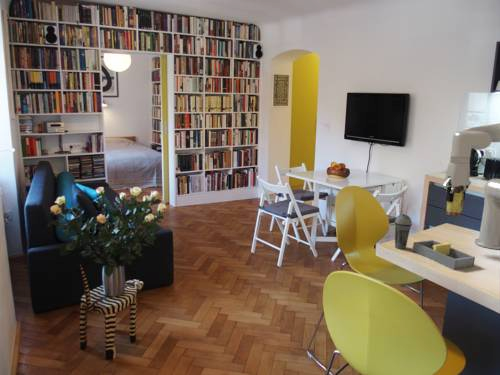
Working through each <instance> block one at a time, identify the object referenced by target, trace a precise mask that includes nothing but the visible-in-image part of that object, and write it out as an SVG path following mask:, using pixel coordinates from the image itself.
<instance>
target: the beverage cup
mask: <svg viewBox="0 0 500 375" xmlns="http://www.w3.org/2000/svg"><path fill="white" fill-rule="evenodd" d="M408 209H409V205H408V204H407V206H406V210H405V213H404V214H399V215H398V216H397V217H396V218H395V219H394V247H395V249H397V250H406V247H407V246H408V245H407V244H408V240H409V235H410V230H411V228H412V225H413V224H412V219H411V217H410V216H409V215H407V213H408Z"/></svg>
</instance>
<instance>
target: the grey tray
mask: <svg viewBox="0 0 500 375" xmlns="http://www.w3.org/2000/svg"><path fill="white" fill-rule="evenodd" d="M438 244H442V243H441V242H438V241H436V240H434V239H430V240H429V239H428V240H422V241H414V242H413V246H412V252H414V253H416V254H418V255H421V256H422V257H425V258H427V259H429V260H431V261H434V262H436V263H437V264H440V265H443V266H445V267H447V268H449V269H451V270H453V271H455V270H462V269H466V268H467V269H468V268H472V267H473V268H474V264H475V260H476V257H475V256H473V255H471V254H468V253H465V252H463V251H461V250H458V249H456V248H453V247H450V254H449V255H444V254H442V253H440V252H437V251H435V250H433V248H432V246H433V245H438Z"/></svg>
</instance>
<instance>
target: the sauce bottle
mask: <svg viewBox="0 0 500 375" xmlns="http://www.w3.org/2000/svg"><path fill="white" fill-rule="evenodd" d="M451 186H452V185H451ZM451 188H452V187H450V189H451ZM453 193H454V197H453V202H449V201H446V215H448V216H451V217H460V216H462V212H463V204H464V201H463V195H464V187H463V185H461V186H458V187H455V189H454V191H453Z"/></svg>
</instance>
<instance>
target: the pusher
mask: <svg viewBox="0 0 500 375" xmlns="http://www.w3.org/2000/svg"><path fill="white" fill-rule="evenodd" d="M451 245H452V243H449V242H448V243H447V242H446V243H441V244H438V245H433V246H432V248H433V250H435V251H437V252H440V253H442V254H444V255H449V254H450V247H451ZM451 248H452V247H451Z"/></svg>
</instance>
